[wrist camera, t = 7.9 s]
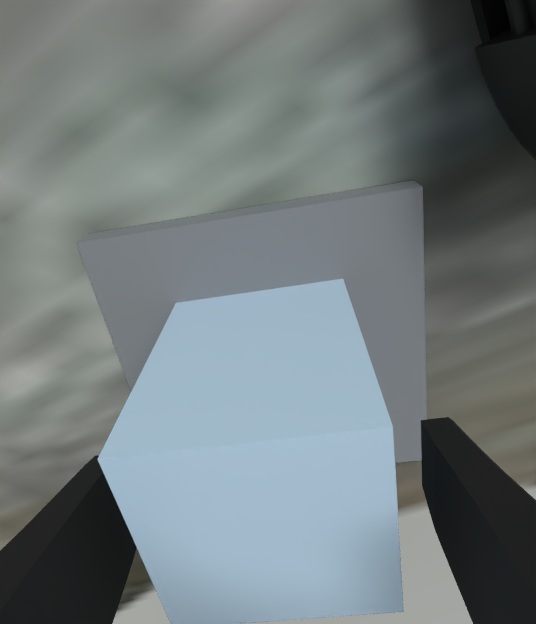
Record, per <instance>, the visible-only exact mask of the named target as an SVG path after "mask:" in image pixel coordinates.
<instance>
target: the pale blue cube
mask: <svg viewBox="0 0 536 624" xmlns="http://www.w3.org/2000/svg"><path fill="white" fill-rule="evenodd" d="M97 460H98V462H99V464H100V466H101V469H102V471H103V473H104V475H105V477H106V480H107V482H108V484H109V486H110V489H111V491H112V493H113V495H114V498H115V500H116V502H117V504H118V507H119V509H120V511H121V513H122V516H123V518H124V520H125V522H126V524H127V527H128V529H129V531H130V533H131V536H132V538H133V540H134V542H135V545H136V547H137V549H138V551H139V554H140V556H141V558H142V560H143V563H144V565H145V567H146V569H147V572H148V574H149V576H150V578H151V580H152V583H153V585H154V587H155V589H156V592H157V594H158V596H159V598H160V601H161V603H162V605H163V607H164V609H165V612H166V614H167V616H168V619H169V621H170V623H171V624H242V623H256V622H269V621H283V620H296V619H310V618H325V617H337V616H352V615H367V614H380V613H395V612H403V611H404V610H403V592H402V575H401V558H400V541H399V525H398V506H397V489H396V472H395V455H394V438H393V425H392V422H391V419H390V416H389V414H388V411H387V408H386V405H385V402H384V399H383V396H382V393H381V390H380V387H379V384H378V381H377V378H376V375H375V372H374V369H373V366H372V363H371V360H370V357H369V354H368V351H367V348H366V345H365V342H364V339H363V336H362V333H361V330H360V327H359V324H358V321H357V318H356V315H355V312H354V309H353V306H352V304H351V301H350V298H349V295H348V292H347V289H346V286H345V283H344V280H343V279H337V280H330V281H323V282H317V283H310V284H303V285H296V286H289V287H282V288H275V289H268V290H261V291H255V292H248V293H241V294H234V295H227V296H220V297H213V298H206V299H199V300H192V301H186V302H179V303H176V304H175V306H174V308H173V310H172V312H171V314H170V316H169V318H168V320H167V322H166V324H165V326H164V328H163V330H162V332H161V334H160V336H159V338H158V340H157V342H156V344H155V346H154V348H153V350H152V352H151V354H150V356H149V358H148V360H147V362H146V364H145V366H144V368H143V370H142V372H141V374H140V376H139V378H138V380H137V382H136V384H135V386H134V388H133V390H132V392H131V394H130V396H129V398H128V400H127V402H126V403H125V405H124V407H123V409H122V411H121V413H120V415H119V417H118V419H117V421H116V423H115V425H114V427H113V429H112V431H111V433H110V435H109V437H108V439H107V441H106V443H105V445H104V447H103V449H102V451H101V453H100V455H99V457H98V459H97Z"/></svg>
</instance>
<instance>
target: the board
mask: <svg viewBox="0 0 536 624" xmlns="http://www.w3.org/2000/svg"><path fill="white" fill-rule="evenodd" d="M76 244H77V247H78V249H79V252H80V255H81V257H82V260H83V263H84V266H85V268H86V271H87V274H88V276H89V279H90V282H91V284H92V287H93V290H94V293H95V295H96V298H97V301H98V303H99V306H100V309H101V311H102V314H103V317H104V319H105V322H106V325H107V328H108V330H109V333H110V336H111V338H112V341H113V344H114V346H115V349H116V352H117V354H118V357H119V360H120V363H121V365H122V368H123V371H124V373H125V376H126V379H127V381H128V384H129V387H130V389H131V392H132V390H133V388H134V386H135V384H136V382H137V380H138V378H139V376H140V374H141V372H142V370H143V368H144V366H145V364H146V362H147V360H148V358H149V356H150V354H151V352H152V350H153V348H154V346H155V344H156V342H157V340H158V338H159V336H160V334H161V332H162V330H163V328H164V326H165V324H166V322H167V320H168V318H169V316H170V314H171V312H172V310H173V308H174V306H175V304H176V303H179V302H186V301H192V300H199V299H206V298H213V297H220V296H227V295H234V294H241V293H248V292H255V291H261V290H268V289H275V288H282V287H289V286H296V285H303V284H310V283H317V282H323V281H330V280H337V279H343V280H344V283H345V286H346V289H347V292H348V295H349V298H350V301H351V304H352V306H353V309H354V312H355V315H356V318H357V321H358V324H359V327H360V330H361V333H362V336H363V339H364V342H365V345H366V348H367V351H368V354H369V357H370V360H371V363H372V366H373V369H374V372H375V375H376V378H377V381H378V384H379V387H380V390H381V393H382V396H383V399H384V402H385V405H386V408H387V411H388V414H389V416H390V419H391V422H392V425H393V438H394V455H395V463H400V462H409V461H419V460H422V452H421V420H427V400H426V342H425V284H424V226H423V186H421V185H420V184H418V183H417V182H415V181H414V180H411V181H405V182H399V183H393V184H387V185H381V186H375V187H369V188H363V189H356V190H350V191H344V192H338V193H332V194H326V195H320V196H314V197H308V198H302V199H296V200H290V201H284V202H278V203H272V204H266V205H260V206H254V207H247V208H241V209H235V210H229V211H223V212H217V213H211V214H205V215H199V216H193V217H187V218H181V219H175V220H169V221H163V222H157V223H151V224H145V225H139V226H132V227H126V228H120V229H114V230H108V231H102V232H96V233H90V234H88V235H87V236H85V237H84V238H83V239H81V240H80V241H79V242H77V243H76Z"/></svg>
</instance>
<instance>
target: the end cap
mask: <svg viewBox="0 0 536 624" xmlns="http://www.w3.org/2000/svg"><path fill="white" fill-rule="evenodd" d="M471 3H472V7H473V11H474V15H475V19H476V23H477V27H478V31H479V34H480V37H481V40H482V44H480V45H478V46H477V47H475V51H476V54H477V58H478V61H479V64H480V68H481V71H482V74H483V76H484V79H485V82H486V84H487V87H488V89H489V92H490V94H491V96H492V98H493V100H494V102H495V104H496V107H497V109H498V111H499V113H500V114H501V116H502V118H503V119H504V121H505V123H506V124H507V126H508V128H509V129H510V131H511V132H512V133H513V135H514V136H515V137H516V139H517V140H518V141H519V143H520V144H521V145H522V146H523V148H524V149H525V150H526V151H527V152H528V153H529V154H530V155H531V156H532V157H533V158H534V159H535V160H536V0H471Z"/></svg>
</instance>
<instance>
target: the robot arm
mask: <svg viewBox="0 0 536 624" xmlns="http://www.w3.org/2000/svg"><path fill="white" fill-rule="evenodd" d="M421 452H422V486H423V490H424V493H425V497H426V500H427V504H428V507H429V510H430V514H431V517H432V521H433V524H434V527H435V531H436V533H437V536H438V538H439V541H440V543H441V546H442V548H443V551H444V553H445V556H446V558H447V560H448V563H449V566H450V568H451V570H452V573H453V575H454V578H455V580H456V582H457V585H458V588H459V590H460V592H461V595H462V597H463V600H464V602H465V605H466V607H467V610H468V612H469V614H470V617H471V619H472V622H473V624H536V500H535V499H534V498H533V497H532V496H530V495H529V494H528V493H527V492H526V491H525V490H524V489H523V488H522V487H520V486H519V485H518V484H517V483H516V482H515V481H514V480H513V479H512V478H511V477H509V476H508V475H507V474H506V473H505V472H504V471H503V470H502V469H501V468H500V467H499V466H498V465H497V464H496V463H494V462H493V461H492V460H491V459H490V458H489V457H488V456H487V455H486V454H485V453H484V452H483V451H482V450H481V449H480V448H479V447H478V446H477V445H476V444H475V443H474V442H473V441H472V440H471V439H470V438H469V437H468V436H467V435H466V434H465V433H464V432H463V431H462V430H461V428H460V427H459V426H458V425H457V424H456V423H455V422H454V421H453V420H451V419H450V418H449V417H446V418H437V419H428V420H421ZM98 457H99V456H94V457H93V458H92V459H91V460H90V461H89V462H88V463H87V464H86V465H85V466H84V467H83V468H82V469H81V470H80V471H79V472H78V473H77V474H76V475H75V476H74V477H73V478H72V479H71V480H70V481H69V482H68V483H67V484H66V485H65V486H64V488H63V489H62V490H61V491H60V492H59V493H58V494H57V495H56V496H55V497H54V498H53V499H52V500H51V501H50V502H49V503H48V504H47V505H46V506H45V507H44V508H43V509H42V510H41V511H40V512H39V513H38V514H37V515H36V516H35V517H34V518H33V519H32V520H31V521H30V522H29V523H28V524H27V525H26V526H25V527H24V528H23V529H22V530H21V531H20V532H19V533H18V534H17V535H16V536H15V537H14V538H13V539H12V540H11V541H10V542H9V543H8V544H7V545H6V546H5V547H4V548H3V549H2V550H1V551H0V624H112V623H113V620H114V617H115V614H116V611H117V608H118V605H119V602H120V599H121V596H122V593H123V590H124V587H125V583H126V580H127V577H128V574H129V571H130V568H131V565H132V562H133V558H134V555H135V550H136V545H135V542H134V540H133V538H132V536H131V533H130V531H129V529H128V527H127V524H126V522H125V520H124V518H123V516H122V513H121V511H120V509H119V507H118V504H117V502H116V500H115V498H114V495H113V493H112V491H111V489H110V486H109V484H108V482H107V480H106V477H105V475H104V473H103V471H102V469H101V466H100V464H99V462H98V460H97V459H98Z"/></svg>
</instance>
